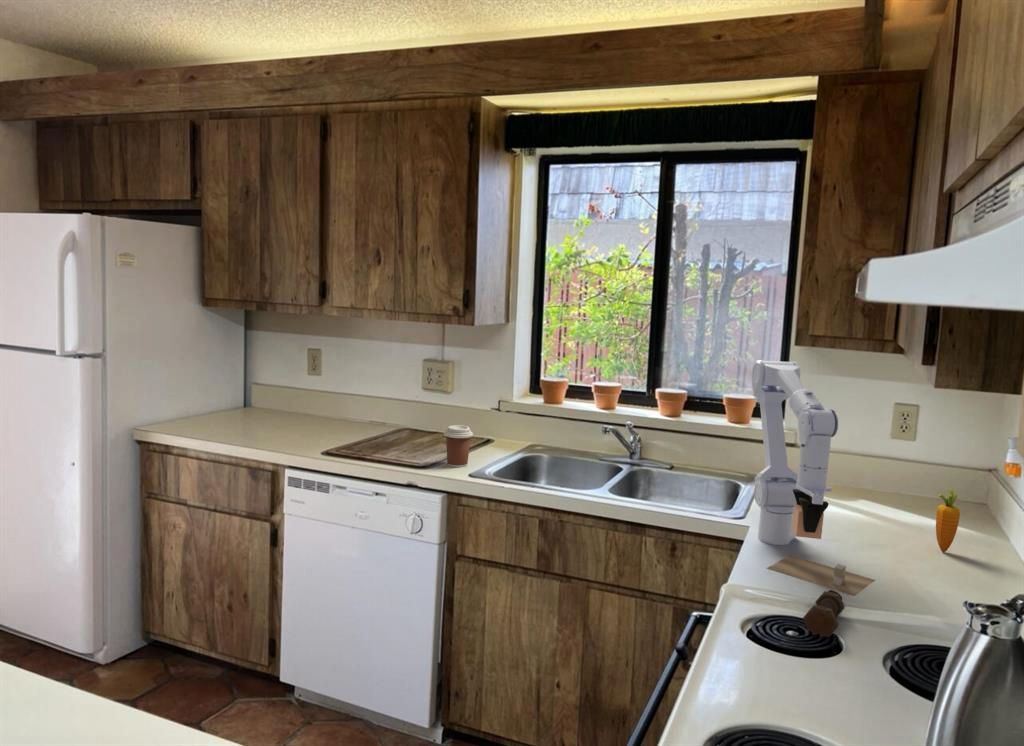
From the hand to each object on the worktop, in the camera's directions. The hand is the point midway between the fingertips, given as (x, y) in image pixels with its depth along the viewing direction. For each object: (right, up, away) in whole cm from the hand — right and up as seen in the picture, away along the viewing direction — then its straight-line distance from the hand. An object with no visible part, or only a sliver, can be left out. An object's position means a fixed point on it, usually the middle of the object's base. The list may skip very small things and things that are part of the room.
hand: (806, 527), depth 163 cm
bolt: (-5, -13, -22) cm, 26 cm away
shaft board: (+1, -11, -3) cm, 11 cm away
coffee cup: (-80, +4, +77) cm, 111 cm away
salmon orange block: (0, -1, 0) cm, 1 cm away
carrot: (+40, -10, +19) cm, 45 cm away
